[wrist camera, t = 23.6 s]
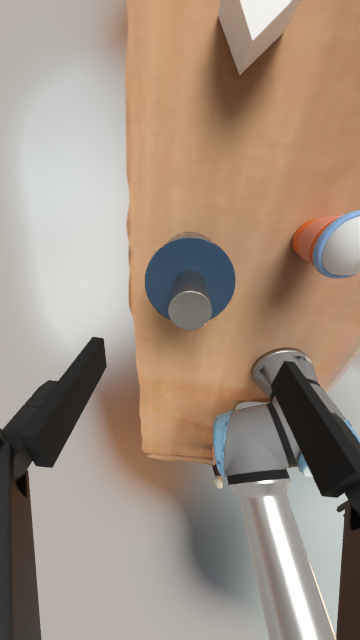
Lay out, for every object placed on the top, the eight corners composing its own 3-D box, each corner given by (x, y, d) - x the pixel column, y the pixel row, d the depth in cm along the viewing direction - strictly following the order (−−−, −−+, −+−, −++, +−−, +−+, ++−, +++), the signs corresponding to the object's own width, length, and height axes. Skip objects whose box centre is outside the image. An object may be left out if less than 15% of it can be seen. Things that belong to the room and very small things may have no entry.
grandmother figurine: (223, 450, 76) (229, 490, 65) (215, 453, 78) (220, 492, 67) (213, 442, 73) (218, 482, 62) (205, 445, 75) (208, 485, 64)
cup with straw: (273, 251, 36) (337, 281, 21) (306, 200, 32) (418, 190, 16) (310, 269, 38) (396, 310, 22) (347, 223, 33) (484, 233, 18)
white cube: (283, 33, 23) (310, -18, 18) (239, 76, 25) (252, 41, 20) (264, -38, 21) (289, -121, 16) (217, 15, 23) (226, -42, 18)
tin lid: (222, 325, 32) (233, 363, 24) (145, 315, 31) (130, 351, 23) (245, 243, 25) (271, 258, 17) (147, 229, 24) (128, 238, 17)
